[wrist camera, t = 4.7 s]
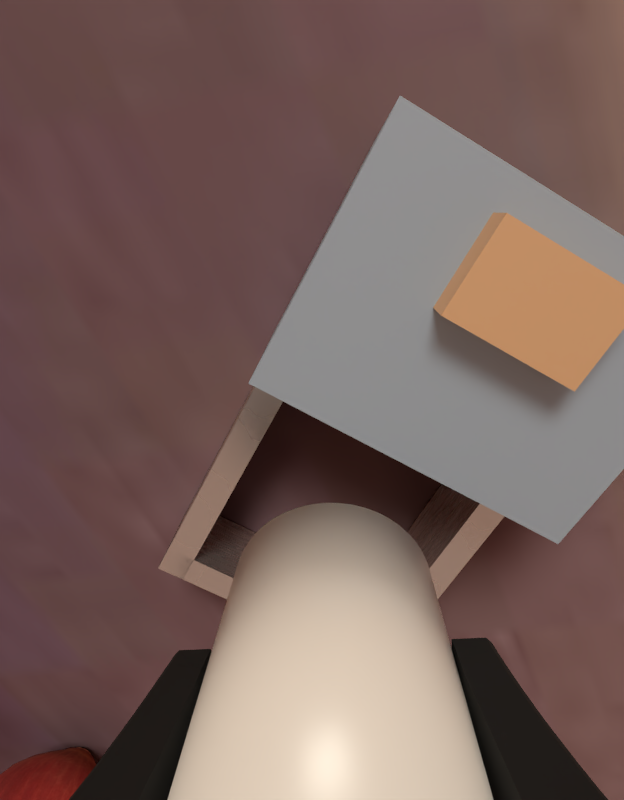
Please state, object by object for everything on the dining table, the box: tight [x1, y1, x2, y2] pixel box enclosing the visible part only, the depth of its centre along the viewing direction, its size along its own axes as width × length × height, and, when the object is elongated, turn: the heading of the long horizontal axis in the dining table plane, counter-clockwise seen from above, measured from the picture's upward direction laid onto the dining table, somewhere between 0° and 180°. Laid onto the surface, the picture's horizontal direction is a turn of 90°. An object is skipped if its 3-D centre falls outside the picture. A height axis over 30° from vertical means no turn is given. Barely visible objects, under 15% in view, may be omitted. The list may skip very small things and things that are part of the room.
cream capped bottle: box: [167, 503, 494, 800], centre depth 8 cm, size 4×4×7 cm
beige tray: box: [159, 386, 504, 599], centre depth 15 cm, size 8×8×2 cm
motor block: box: [249, 96, 624, 544], centre depth 12 cm, size 8×6×5 cm
